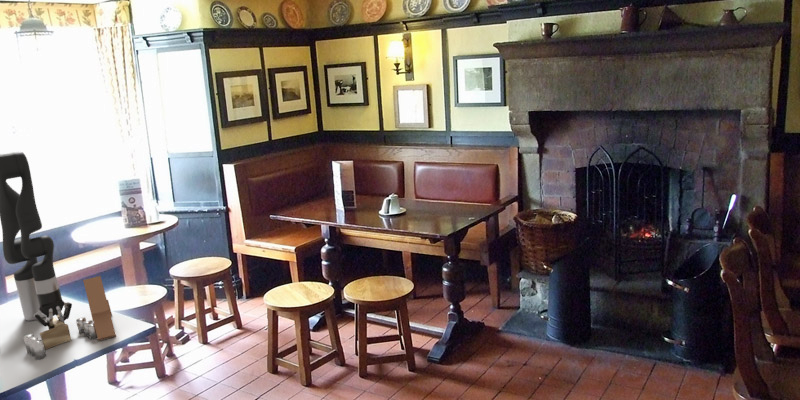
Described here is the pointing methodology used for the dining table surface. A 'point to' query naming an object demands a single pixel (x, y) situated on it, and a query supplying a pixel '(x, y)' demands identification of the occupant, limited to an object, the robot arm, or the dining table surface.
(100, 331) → the tan tall stepped post
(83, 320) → the spacers
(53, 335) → the wooden l-bracket
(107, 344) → the dining table surface
